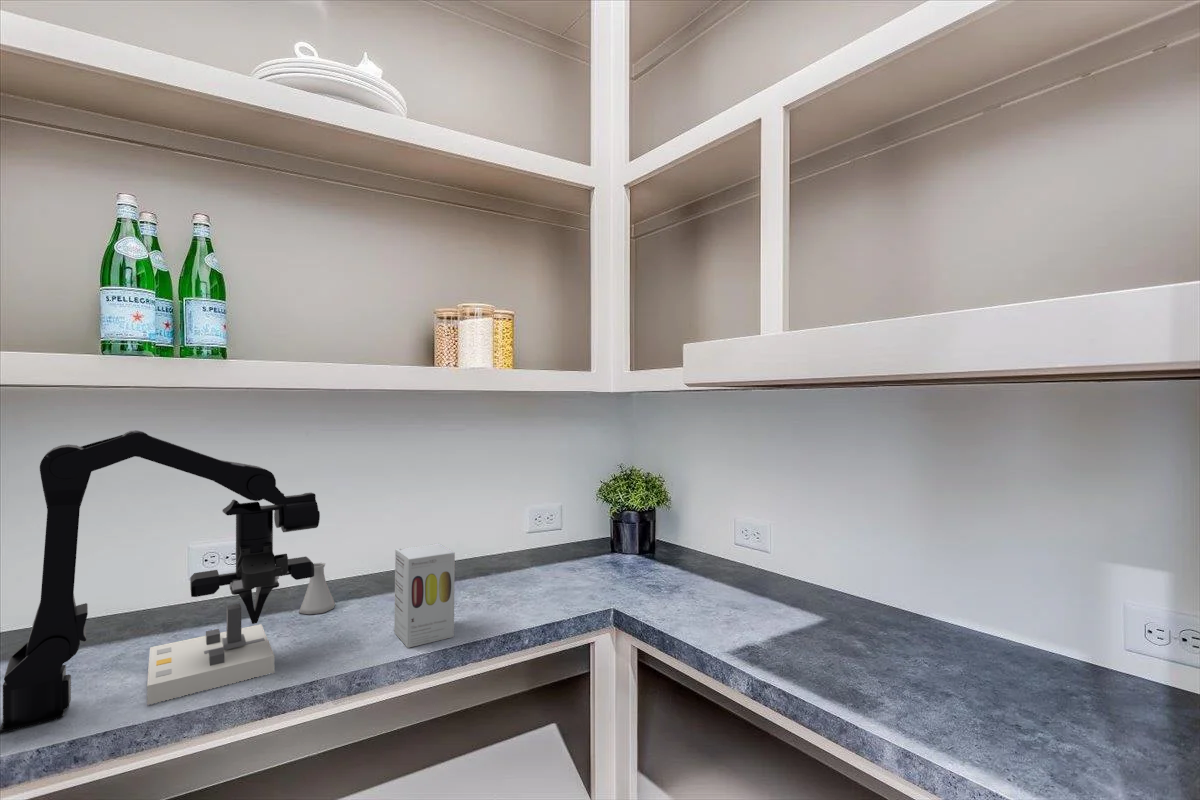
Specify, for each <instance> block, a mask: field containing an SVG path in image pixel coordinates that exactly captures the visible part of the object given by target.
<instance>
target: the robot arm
mask: <svg viewBox="0 0 1200 800" xmlns="http://www.w3.org/2000/svg"><path fill="white" fill-rule="evenodd" d="M134 457H137V458H141V459H144V460H147V461H151V462H154V463H156V464H159V465H163V466H166V467H168V468H172V469H176V470H178V471H182V472H185V473H187V474H191V475H193V476H196V477H200V478H204V479H207V480H210V481H211V482H214V483H217V484H218V485H220V486H222V487H224V488H226V489H228V490H229V491H231V492H233V493H235V494H237V495H239V496H241V497H243V498H245V499H247V500H250V501H251V502H250V501H249V502H243V503H240V502H238V500H236V499H232V500H231V502H230V503H229V504H228V505H227V506H226V507H224V508H222V510H221V511H222V513H223V514H225V515H226V516H235V572H231V573H223V574H219V569H212V570H207V571H199V572H195V573H193V574H192V575H191V576H190V582H189V583H190V584H189V585H190V586H189V588H190V596H191V598H199V597H202V596H203V597H204V596H209V595H215V593H217V592H218V591H219V590H220V587H222V586H229V590H230V593H231V594H232V596H236V595H238V596H239V597H240V598H241V600H242V602H243V603H244V605H245V608H246V611H247V613H248V617H249V618H250V622H251V624H252V625H256V624H257V623H258V622H259V620H260V616H261V614H262V611H263V608H264V606H265V603H266V600H267V599H268V596H269V594H270V593H271V592H272V590H273V589H276V588H278V587H280V583H279V581H278V579H280V577H283V576H284V577H285V576H290V577H291V578H293V579H294V580H295V581H297V580H304V579H310V578H311V577H313V576H314V562H313V561H312V560H311V559H310V558H309V557H307V556H301V557H293V558H289V557H288V554H287V553H282V554H281V553H280V554H276V555H275V554H274V552H273V550H274V539H273V538H274V537H273V536H274V525H275V528H276V529H278V528H280V529H281V531H282V533H290V532H295V531H296V532H298V531H304V530H311V529H317V528H318V527H319V524H320V519H321V517H320V516H321V514H320V510H319V506H318V502H317V499H316V498H317V497H316V494H315V493H314V492H305V493H301V494H294V495H293V494H292V495H285V493H284V492H282V491H281V490H280V489H279V488H278V487H277V481H276V477H275V475H274V474H273V472H271V471H269V470H268V469H266V468H263V467H260V466H258V465H252V464H246V463H241V462H234V461H228V460H222V459H218V458H214V457H212V456H210V455H207V454H204V453H201V452H199V451H195V450H193V449H189V448H186V447H183V446H180V445H177V444H174V443H171V442H169V441H167V440H163V439H159V438H157V437H154V436H151V435H149V434H147V433H146V432H144V431H140V430H129V431H127V432H125V433H123V434H120V435H117V436H113V437H110V438H107V439H101V440H99V441H95V442H91V443H87V444H86V445H85V444H84V445H81V446H79V445H77V444H63V445H62V444H61V445H58V446H55V447H53V448H52V449H50V450H48V452H46V453H45V454H44V456H43V457H42V459H41V461H40V464H39V474H40V479H41V485H42V491H43V495H44V500H45V504H46V512H47V513H46V523H45V525H46V526H45V537H44V551H43V563H42V566H43V567H42V576H41V578H42V579H41V591H40V601H39V603H38V608H37V611H36V612H35V613H36V614H35V617H34V619H33V623H32V626H31V629H30V633H29V636H28V640H27V642H26V643H24V645H22V646H21V647H20V648H18V650H17V651H16V652H14V653H13V654H12V655H11V656H10V658H9V660H8V664H7V667H6V671H5V674H4V677H3V681H4V682H3V684H2V723H1V725H0V734H3V733H7V732H11V731H16V730H19V729H23V728H28V727H32V726H35V725H40V724H43V723H48V722H52V721H55V720H59V719H62V718H63V717H64V715H65V710H66V709H68V708H69V707H70V705H71V704H70V703H71V701H72V695H71V694H72V675H71V674H69V673H68V674H66V671H67V670H66V667H67V666H66V664H65V663H67V662H68V661H69V660H71V659H73V657H74V656H75V655H76V654H77V652H78V651H79V648H80V645H81V642H86V641H87V626H86V621H87V618H88V614H89V612H88V603H87V602H85V603H81V604H78V605H77V603H76V599H75V593H74V591H75V579H76V578H75V577H76V566H77V565H76V564H77V551H78V539H79V537H78V536H79V523H80V511H81V506H82V503H83V500H84V496H85V493H86V492H87V491H86V490H87V487H88V484H89V480H90V478H91V474H92V472H94V471H97V470H101V469H104V468H107V467H109V466H112V465H115V464H117V463H120V462H123V461H126V460H129V459H131V458H134ZM262 500H264V501H266V502H268V503H271V504H269V505H261V504H260V502H258V501H262ZM273 512H274V513H273ZM253 589H255V598H253ZM253 599H254V600H253Z"/></svg>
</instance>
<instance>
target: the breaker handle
mask: <svg viewBox="0 0 1200 800" xmlns="http://www.w3.org/2000/svg"><path fill="white" fill-rule="evenodd" d="M225 614H226V631H227V637H226V638H222V644H223V648H224V650H226V649H230V648H235V647H239V646H244V645H246V640H245V637H244V634H241V628H242V606H241V603H239V602H238V603H235V604H229V605H226V613H225Z"/></svg>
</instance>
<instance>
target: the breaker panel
mask: <svg viewBox="0 0 1200 800" xmlns="http://www.w3.org/2000/svg"><path fill="white" fill-rule="evenodd" d="M241 634H244V637H245V640H246V645H244V646H239V647H235V648H230V649H226V650H224V648H223V644H222V638H226V637H227V630H226V631H222V632H220V628H216V629H211V630H206V631H205V635H204V636H202V635H201V636H198V637H193V638H188V639H184V640H179V641H173V642H170V643H164V644H159V645H154V646H150V647H149V656H148V657H149V659H148V671H147V683H146V685H147V686H146V706H150V705H149V704H151V705H154V704H153V703H155V704H158V703H157V702H159V703H162V702H161V701H163V702H166V701H165V700H167V701H170V700H169V699H171V700H174V699H173V698H175V699H177V698H176V697H179V698H181V697H180V696H183V697H185V696H184V695H187V696H189V695H188V694H190V695H193V694H192V693H194V694H196V693H195V692H198V693H200V692H199V691H202V692H204V691H203V690H206V691H209V690H208V689H210V690H213V689H212V688H214V689H216V688H215V687H218V688H220V686H222V687H225V686H224V685H226V686H228V685H227V684H229V685H233V684H236V682H237V683H240V682H239V681H241V682H245V681H248V680H247V679H249V680H252V679H251V678H253V679H255V678H254V677H257V678H260V677H259V676H261V677H263V676H262V675H265V676H267V675H266V674H269V673H272V674H275V653H274V651H273V648H272V646H271V644H270V642H269V641H270V640H269V639H268V637H267V634H266V631H265V630H264V627H263V624H261V623H260V624H254V625H251V626H247V627H241ZM269 675H270V674H269ZM244 680H245V681H244ZM232 683H233V684H232Z"/></svg>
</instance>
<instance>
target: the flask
mask: <svg viewBox="0 0 1200 800" xmlns="http://www.w3.org/2000/svg"><path fill="white" fill-rule="evenodd" d="M313 564H314V576H313V577H311V578H309V582H308V585H307V588H306V592H305V594H304V597H303V601H302V602H301V605H300V608H299V611H298V613H299V614H305V615H316V614H317V615H318V614H324V613H326V612H329V611H330V610H333V609H334V608H335V605H336V603H335V600H334V597H333V595H332V593H331V591H330V589H329V588H330V587H329V586H328V584H327V581H326V576H325V566H326V563H325V562H315V563H314V562H313Z"/></svg>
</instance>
